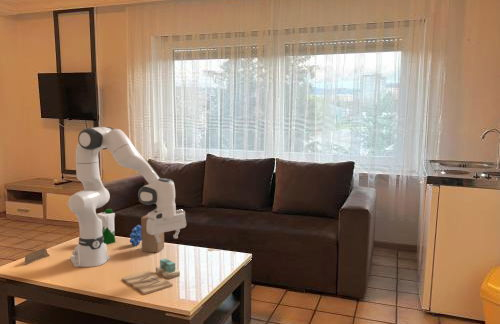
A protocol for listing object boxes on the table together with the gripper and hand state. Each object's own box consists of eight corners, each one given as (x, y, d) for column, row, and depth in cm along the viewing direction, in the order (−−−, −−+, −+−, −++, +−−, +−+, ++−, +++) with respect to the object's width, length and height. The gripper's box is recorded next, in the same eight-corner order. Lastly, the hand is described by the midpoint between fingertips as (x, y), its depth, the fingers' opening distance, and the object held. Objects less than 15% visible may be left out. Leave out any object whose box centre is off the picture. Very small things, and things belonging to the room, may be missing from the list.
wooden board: (121, 279, 195) (121, 277, 195) (148, 272, 205) (148, 270, 205) (144, 294, 179) (144, 292, 179) (172, 285, 189) (172, 283, 189)
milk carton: (117, 242, 253) (116, 209, 250) (103, 245, 246) (102, 212, 244) (109, 239, 258) (108, 207, 256) (96, 242, 251) (94, 210, 249)
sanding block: (156, 272, 205) (155, 259, 205) (166, 269, 209) (166, 256, 209) (168, 279, 197) (168, 266, 196) (179, 276, 201) (179, 263, 200)
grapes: (138, 241, 254) (137, 222, 253) (146, 242, 252) (146, 223, 250) (124, 246, 244) (124, 226, 243) (133, 248, 241) (133, 228, 240)
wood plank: (27, 265, 213) (26, 256, 213) (24, 265, 214) (23, 256, 213) (49, 256, 228) (48, 247, 227) (46, 255, 229) (45, 247, 228)
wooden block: (157, 253, 233) (156, 218, 231) (141, 252, 235) (140, 217, 233) (164, 247, 243) (164, 214, 240) (148, 246, 245) (148, 213, 242)
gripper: (181, 207, 209) (182, 234, 210) (144, 214, 195) (145, 243, 197) (188, 209, 204) (189, 237, 206) (151, 216, 190) (152, 246, 192)
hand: (167, 240), depth 201 cm, fingers open, 8 cm apart
